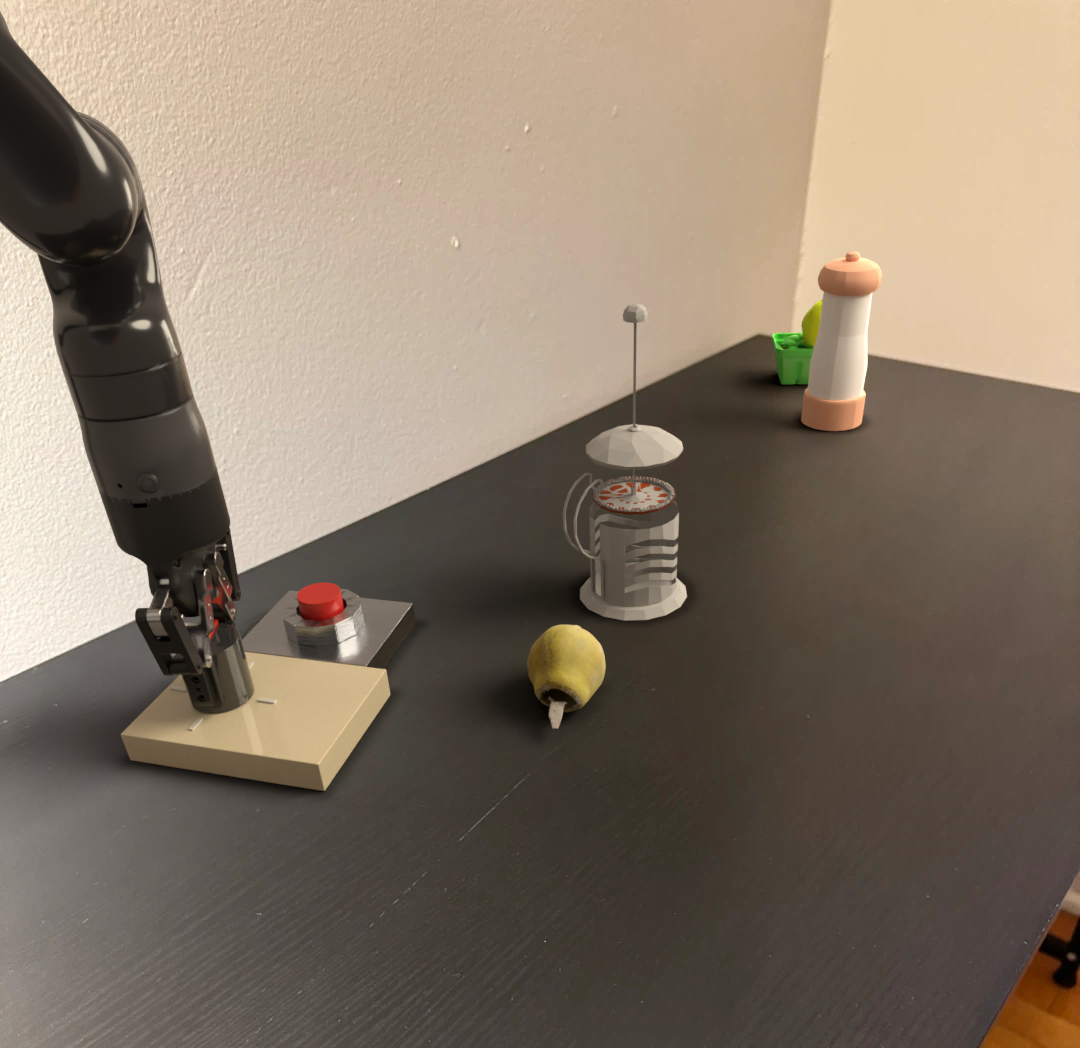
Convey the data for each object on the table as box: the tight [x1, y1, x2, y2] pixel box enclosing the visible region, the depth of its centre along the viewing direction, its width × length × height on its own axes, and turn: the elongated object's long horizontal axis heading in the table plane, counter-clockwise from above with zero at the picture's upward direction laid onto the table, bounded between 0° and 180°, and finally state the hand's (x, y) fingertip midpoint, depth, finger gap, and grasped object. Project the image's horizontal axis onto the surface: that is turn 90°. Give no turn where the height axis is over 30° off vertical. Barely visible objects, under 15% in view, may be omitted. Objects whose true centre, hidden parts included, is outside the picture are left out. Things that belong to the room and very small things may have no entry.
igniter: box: [241, 588, 417, 669], centre depth 83 cm, size 12×10×4 cm
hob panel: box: [120, 652, 391, 792], centre depth 75 cm, size 16×12×3 cm
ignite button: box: [297, 582, 344, 621], centre depth 82 cm, size 4×4×2 cm
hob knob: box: [182, 619, 255, 713], centre depth 73 cm, size 5×5×5 cm
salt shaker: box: [800, 250, 883, 432], centre depth 115 cm, size 7×7×19 cm
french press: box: [562, 303, 688, 622], centre depth 81 cm, size 10×12×25 cm
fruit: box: [526, 624, 607, 731], centre depth 75 cm, size 6×6×10 cm
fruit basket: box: [771, 298, 823, 386], centre depth 129 cm, size 11×9×11 cm
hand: (220, 684), depth 74 cm, fingers open, 5 cm apart
